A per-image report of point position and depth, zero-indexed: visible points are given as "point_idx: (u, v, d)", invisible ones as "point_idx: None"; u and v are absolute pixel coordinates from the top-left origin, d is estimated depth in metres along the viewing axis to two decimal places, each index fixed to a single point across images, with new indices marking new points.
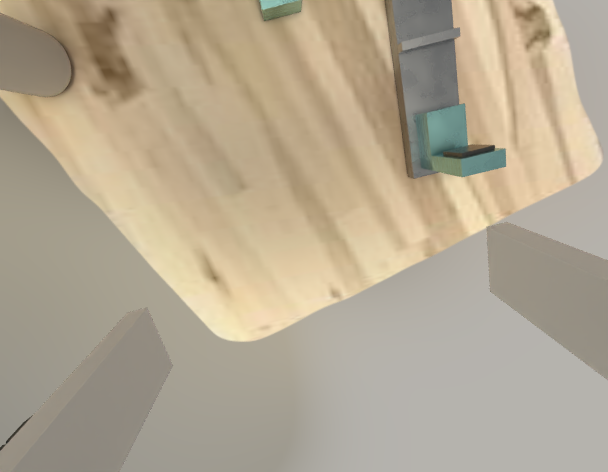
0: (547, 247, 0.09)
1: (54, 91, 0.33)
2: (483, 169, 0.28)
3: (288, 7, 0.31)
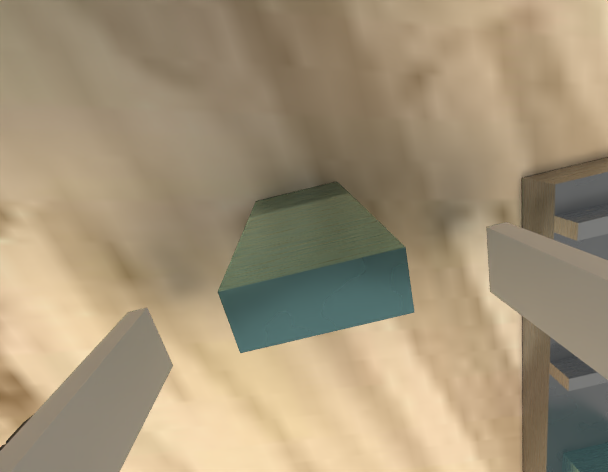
0: (547, 247, 0.09)
1: None
2: None
3: None
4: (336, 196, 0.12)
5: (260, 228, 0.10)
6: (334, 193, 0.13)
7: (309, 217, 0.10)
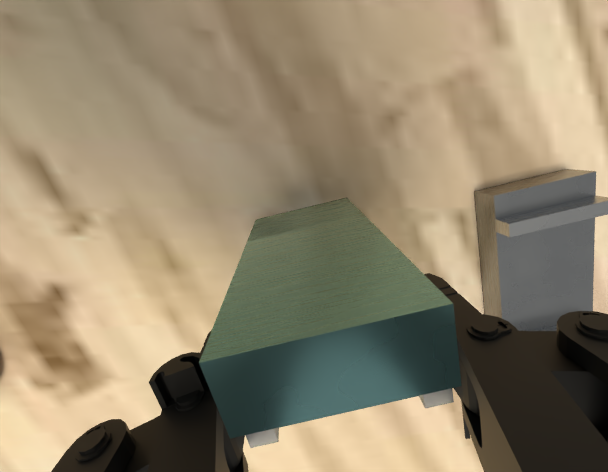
0: None
1: None
2: None
3: None
4: (348, 217, 0.10)
5: (259, 258, 0.09)
6: (345, 213, 0.11)
7: (318, 245, 0.09)
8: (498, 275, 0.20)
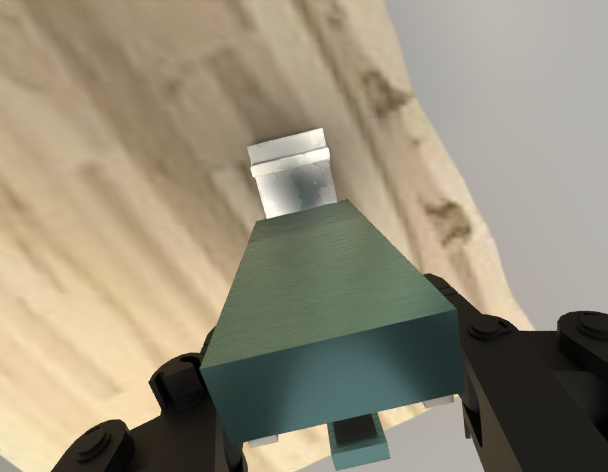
0: None
1: None
2: (361, 462, 0.22)
3: None
4: (349, 219, 0.10)
5: (260, 261, 0.09)
6: (346, 215, 0.11)
7: (319, 248, 0.08)
8: (264, 210, 0.26)
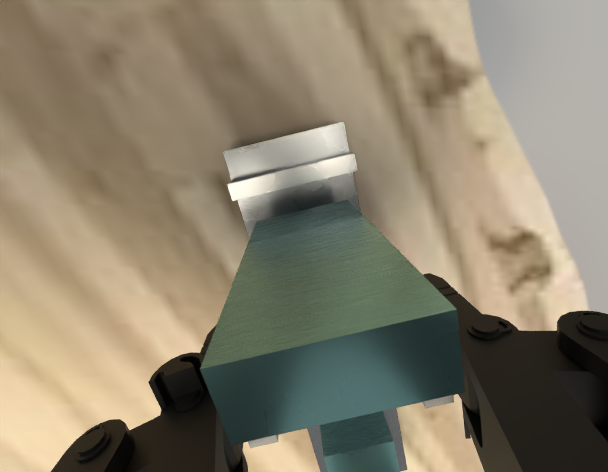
0: None
1: None
2: None
3: None
4: (349, 219, 0.10)
5: (260, 261, 0.09)
6: (346, 215, 0.11)
7: (319, 248, 0.08)
8: None
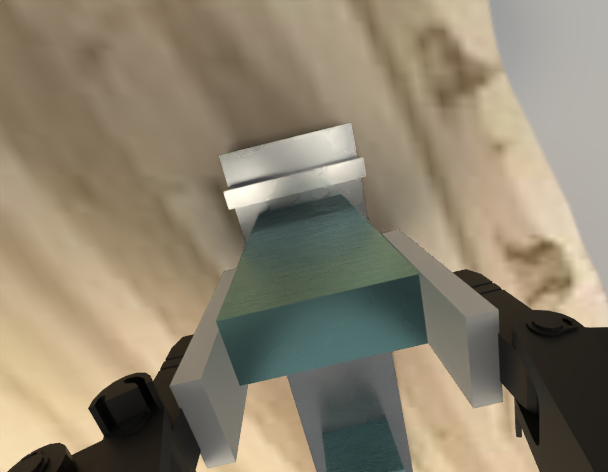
0: (410, 251, 0.11)
1: None
2: None
3: None
4: (341, 210, 0.12)
5: (262, 245, 0.10)
6: (339, 207, 0.12)
7: (314, 234, 0.10)
8: None
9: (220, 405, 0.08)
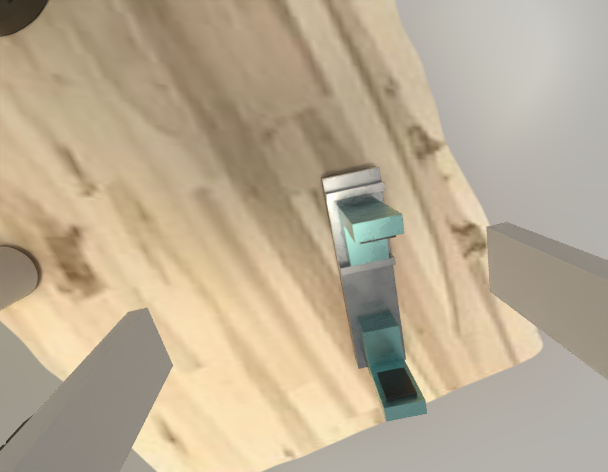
0: (547, 247, 0.09)
1: (20, 298, 0.35)
2: (405, 415, 0.30)
3: None
4: (376, 202, 0.30)
5: (350, 212, 0.28)
6: (374, 201, 0.31)
7: (368, 209, 0.28)
8: (331, 226, 0.34)
9: None
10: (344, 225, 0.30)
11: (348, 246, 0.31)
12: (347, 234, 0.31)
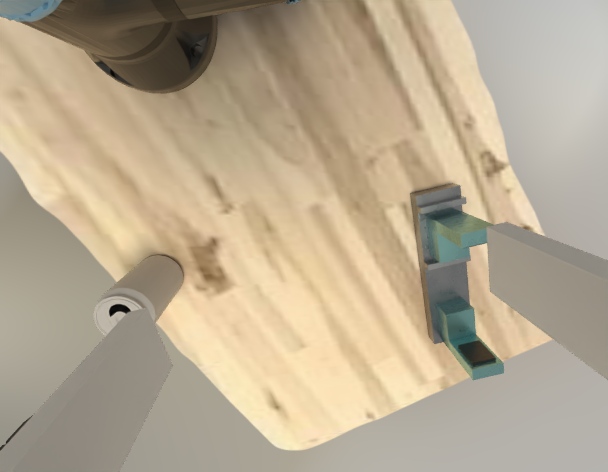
0: (547, 247, 0.09)
1: None
2: (487, 375, 0.40)
3: None
4: (462, 214, 0.39)
5: (448, 223, 0.38)
6: (460, 213, 0.40)
7: (462, 220, 0.37)
8: (420, 232, 0.43)
9: None
10: (439, 232, 0.39)
11: (439, 248, 0.41)
12: (439, 239, 0.40)
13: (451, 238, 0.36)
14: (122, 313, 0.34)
